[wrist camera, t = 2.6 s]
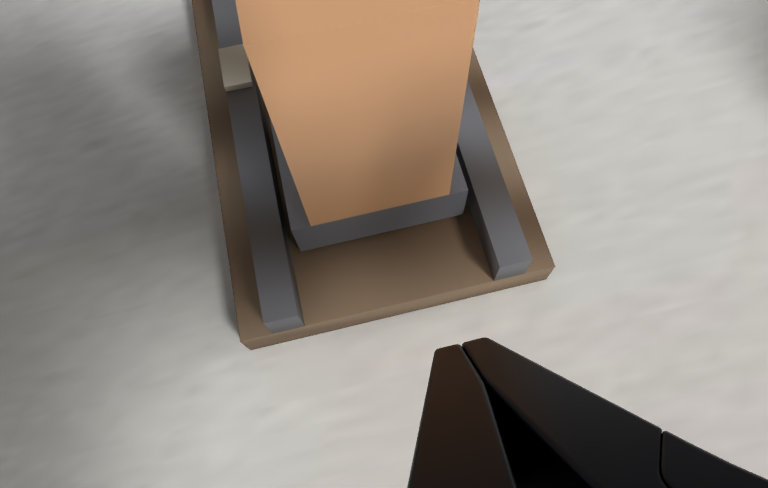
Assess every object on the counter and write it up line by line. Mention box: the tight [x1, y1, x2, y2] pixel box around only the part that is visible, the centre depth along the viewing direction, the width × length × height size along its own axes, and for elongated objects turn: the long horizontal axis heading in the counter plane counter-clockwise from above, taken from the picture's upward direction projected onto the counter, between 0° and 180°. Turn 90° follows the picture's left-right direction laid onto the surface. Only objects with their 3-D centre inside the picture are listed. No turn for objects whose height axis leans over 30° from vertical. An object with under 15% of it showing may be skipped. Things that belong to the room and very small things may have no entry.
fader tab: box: [235, 0, 480, 252], centre depth 18 cm, size 6×6×11 cm
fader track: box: [192, 0, 555, 350], centre depth 24 cm, size 18×12×3 cm, turn 13°
